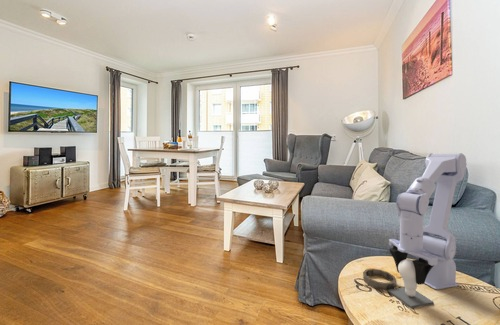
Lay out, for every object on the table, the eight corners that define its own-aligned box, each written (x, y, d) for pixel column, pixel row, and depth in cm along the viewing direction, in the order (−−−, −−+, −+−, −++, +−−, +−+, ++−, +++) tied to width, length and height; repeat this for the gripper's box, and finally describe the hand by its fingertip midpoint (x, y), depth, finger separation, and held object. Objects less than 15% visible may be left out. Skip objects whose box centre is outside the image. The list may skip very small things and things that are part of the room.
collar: (380, 272, 85) (380, 267, 85) (402, 287, 76) (403, 281, 76) (357, 276, 83) (357, 270, 83) (377, 291, 74) (377, 285, 74)
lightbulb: (427, 303, 67) (427, 265, 67) (404, 301, 68) (404, 264, 67) (415, 290, 73) (415, 256, 73) (394, 289, 74) (394, 255, 74)
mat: (409, 288, 75) (409, 286, 75) (433, 303, 68) (433, 301, 68) (388, 291, 74) (388, 289, 74) (410, 308, 66) (410, 306, 66)
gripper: (381, 226, 76) (380, 267, 77) (423, 243, 62) (421, 293, 62) (399, 225, 77) (398, 265, 78) (444, 241, 63) (442, 289, 64)
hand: (410, 277), depth 70 cm, fingers closed on lightbulb, 6 cm apart
